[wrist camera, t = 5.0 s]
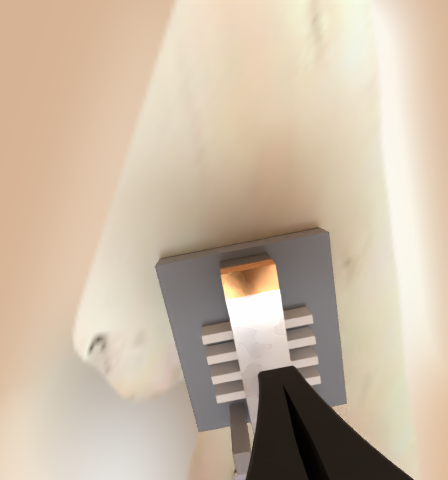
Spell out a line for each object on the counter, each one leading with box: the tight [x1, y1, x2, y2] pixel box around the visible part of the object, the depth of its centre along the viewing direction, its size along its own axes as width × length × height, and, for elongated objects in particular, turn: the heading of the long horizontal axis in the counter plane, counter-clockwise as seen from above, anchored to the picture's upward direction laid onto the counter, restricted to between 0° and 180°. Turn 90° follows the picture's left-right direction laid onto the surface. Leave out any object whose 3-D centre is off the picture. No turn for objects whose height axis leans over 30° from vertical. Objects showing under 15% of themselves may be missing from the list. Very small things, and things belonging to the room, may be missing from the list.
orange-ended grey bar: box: [220, 259, 291, 435], centre depth 16 cm, size 12×3×1 cm, turn 11°
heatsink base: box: [155, 228, 347, 475], centre depth 17 cm, size 13×11×5 cm
